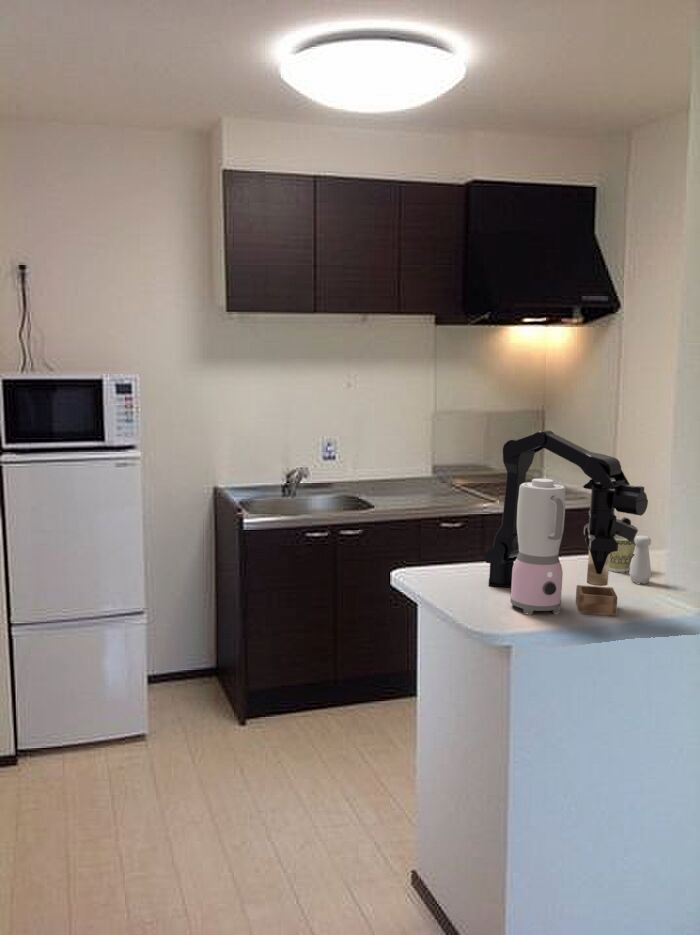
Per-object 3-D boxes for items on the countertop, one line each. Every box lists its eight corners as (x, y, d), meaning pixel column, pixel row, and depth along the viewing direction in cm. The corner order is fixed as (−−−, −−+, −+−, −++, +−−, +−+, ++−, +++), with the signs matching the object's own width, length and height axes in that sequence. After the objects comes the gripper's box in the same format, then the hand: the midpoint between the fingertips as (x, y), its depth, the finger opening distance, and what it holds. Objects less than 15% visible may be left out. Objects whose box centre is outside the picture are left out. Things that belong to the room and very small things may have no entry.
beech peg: (587, 585, 216) (590, 545, 214) (585, 579, 221) (588, 540, 219) (608, 586, 215) (611, 546, 213) (606, 581, 220) (609, 541, 218)
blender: (501, 602, 222) (508, 476, 218) (544, 599, 226) (552, 475, 221) (531, 621, 207) (539, 487, 203) (577, 618, 211) (586, 486, 206)
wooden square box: (578, 613, 215) (579, 594, 214) (575, 602, 224) (576, 585, 223) (616, 615, 214) (617, 597, 213) (611, 605, 222) (612, 587, 222)
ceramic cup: (603, 573, 253) (605, 539, 252) (595, 564, 263) (597, 531, 262) (649, 575, 253) (652, 540, 251) (639, 566, 263) (641, 533, 261)
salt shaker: (651, 585, 241) (655, 539, 239) (629, 584, 242) (633, 537, 240) (649, 580, 247) (652, 534, 245) (627, 578, 248) (631, 533, 246)
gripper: (642, 518, 205) (637, 583, 207) (630, 503, 223) (626, 564, 225) (593, 515, 206) (588, 580, 209) (585, 501, 225) (581, 561, 227)
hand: (597, 571), depth 217 cm, fingers closed on beech peg, 5 cm apart
